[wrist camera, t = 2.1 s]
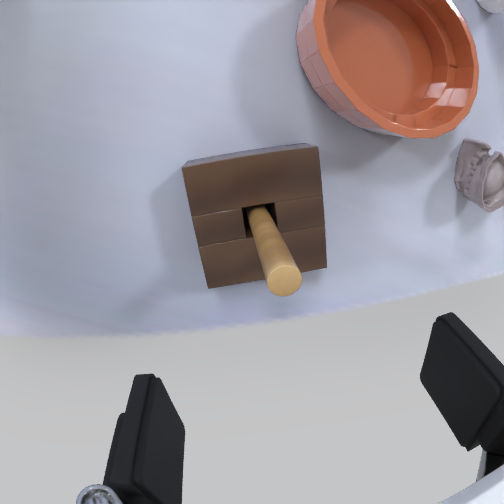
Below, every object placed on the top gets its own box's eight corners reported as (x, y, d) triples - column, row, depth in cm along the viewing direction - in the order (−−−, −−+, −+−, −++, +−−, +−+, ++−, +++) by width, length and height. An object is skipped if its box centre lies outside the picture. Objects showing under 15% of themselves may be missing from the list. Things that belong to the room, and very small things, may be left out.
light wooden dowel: (243, 199, 28) (265, 268, 15) (263, 196, 28) (300, 262, 15) (246, 218, 29) (269, 299, 16) (265, 215, 29) (303, 293, 16)
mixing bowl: (281, -23, 20) (296, -52, 14) (426, -5, 20) (458, -18, 15) (308, 138, 26) (331, 142, 21) (448, 132, 27) (485, 139, 21)
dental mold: (441, 158, 28) (470, 167, 23) (475, 129, 27) (504, 135, 22) (462, 214, 31) (488, 228, 26) (493, 184, 30) (520, 195, 25)
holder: (186, 161, 26) (181, 167, 22) (305, 143, 26) (318, 146, 23) (209, 268, 30) (208, 288, 27) (314, 250, 31) (327, 267, 27)
